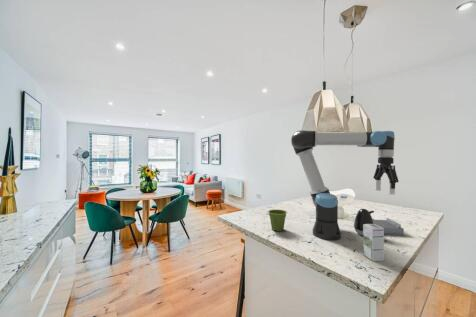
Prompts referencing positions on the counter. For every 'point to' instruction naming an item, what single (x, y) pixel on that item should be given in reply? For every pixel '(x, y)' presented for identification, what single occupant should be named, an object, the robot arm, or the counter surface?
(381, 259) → the syrup box
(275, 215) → the plant pot
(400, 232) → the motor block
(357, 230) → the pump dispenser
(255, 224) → the counter surface
